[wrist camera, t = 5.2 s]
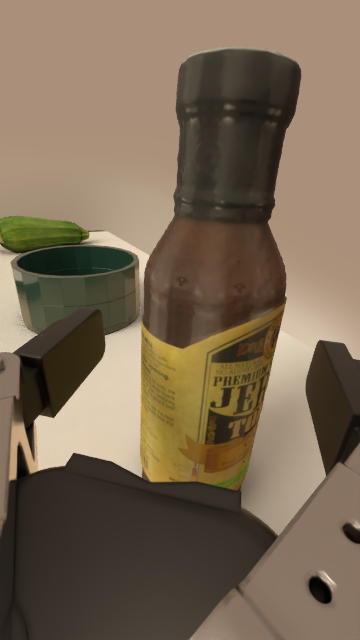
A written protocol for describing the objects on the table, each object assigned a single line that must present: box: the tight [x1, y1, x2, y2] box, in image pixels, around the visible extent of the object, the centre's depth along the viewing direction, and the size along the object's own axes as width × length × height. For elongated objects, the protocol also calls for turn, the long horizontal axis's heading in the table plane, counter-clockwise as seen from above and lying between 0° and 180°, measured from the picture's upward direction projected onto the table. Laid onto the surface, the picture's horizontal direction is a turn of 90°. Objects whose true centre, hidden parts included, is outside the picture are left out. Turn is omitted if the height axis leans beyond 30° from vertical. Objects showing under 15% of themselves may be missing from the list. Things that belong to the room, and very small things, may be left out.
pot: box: [11, 245, 140, 334], centre depth 37 cm, size 14×14×7 cm
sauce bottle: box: [140, 47, 301, 491], centre depth 14 cm, size 6×6×20 cm
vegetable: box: [0, 216, 89, 252], centre depth 66 cm, size 7×7×20 cm
